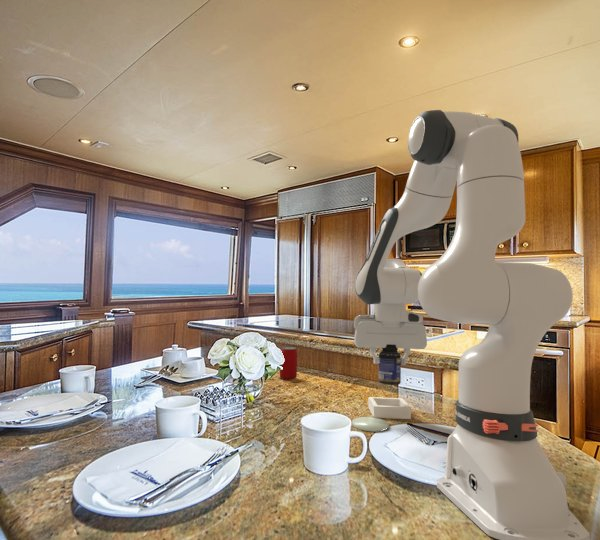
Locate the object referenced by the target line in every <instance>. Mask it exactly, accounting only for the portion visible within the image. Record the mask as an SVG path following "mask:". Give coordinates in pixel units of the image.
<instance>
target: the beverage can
mask: <svg viewBox="0 0 600 540" xmlns="http://www.w3.org/2000/svg"><path fill="white" fill-rule="evenodd" d="M281 351H282V353H283V355H284V358H285V362H284V364H283V365H282V367H283V370H280V369H279V378H281V379H282V378H283V379H282V380H284V379H293V380H295V379H296V378H297V377H298V376H297V375H298V374H297V373H298V351H297V348H296V347H293V346H283V347H282V349H281V350H280V352H281ZM294 378H295V379H294Z"/></svg>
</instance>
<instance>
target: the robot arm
mask: <svg viewBox="0 0 600 540" xmlns="http://www.w3.org/2000/svg"><path fill="white" fill-rule="evenodd" d="M518 132H519V131H518V129H517V127H516V126H515V125H514V124H513V123H511V122H509V121H507V120H505V119H502V118H498V117H495V118H493V117H489V116H484V115H480V114H474V113H471V112H468V111H452V110H451V111H443V110H441V109H436V110H435V109H434V110H432V109H431V110H426V111H425V110H424V111H423V112H421V113H419V115H418V116H416V118H415V119H414V120H413V122H412V124H411V127H410V128H409V132H408V136H407V150H408V153H409V155H410V157H411V158H412V159H413V163H412V166H411V169H410V171H409V174H408V178H407V181H406V184H405V188H404V191H403V194H402V196H401V197H400V199H399V200H398V202H397V203H395V205H394V206H393V207H391V208H388V210H387V211H386V212H385V214H384V215H383V217H382V220H381V221H380V224H379V226H378V228H377V231H376V233H375V236H374V239H373V240H372V242H371V246H370V248H369V251H368V253H367V256H366V258H365V260H364V262H363V264H362V267H361V268H360V269H359V271H358V273H357V275H356V278H355V284H354V286H355V287H354V289H355V290H354V291H355V294H356V295H357V297H358V298H359V299H360V300H361V301H362V302H363V303H364V304H365V305H374V314H358V315H357V316H355V318H354V319H353V328H354V336H353V337H354V338H353V340H354V341H353V344H354V345H355V346H356V347H357V348H369V352H370V354H371V356H372V358H373V364H374V365H379V364H380V362H379V361H380V358H379V356H377V355H376V353H375V352H377V349H379V348H380V349H382V348H385V347H386V345H387V344H390V345H396V348H398V349H403V352H404V353H403V356H402V357H401V366H406V365H407V359H408V357H409V356H410V354H411V350H425V349H426V348H427V345H428V339H427V332H426V331H427V330H426V326H424V324H422V322H423V321H424V316H423V315H421V314H419V313H415V312H413V311H409V310H408V309H407V305H411V304H416V303H417V304H418V303H419V304H420V307H421V308H422V309H423V311H424V312H425V313H426V315H427V317H429V318H433V319H436V320H438V321H439V320H440V321H444V322H449V323H454V324H468V325H469V324H470V325H472V324H473V325H474V324H475V325H488V330H487V333H486V335H485V336H484V338H483V339H482V340H481V341H480V342H479V343H477V344H476V345H474V346H471V347H469V348H468V349H467V350H465V351H464V352H463V353H462V355H461V356H460V359H458V382H457V383H458V384H457V385H458V391H457V392H458V399H457V400H456V401H455V408H454V414H455V423H456V427H455V428H454V430H453V431H452V433H451V434H449V436H448V437H447V444H446V455H445V469H444V474H445V475H444V476H442V477H439V478H437V480H436V481H437V482H436V488H437V489H438V490H439V491H440V492H441V493H443V494H444V495H445V496H446V497H447V498H448V499H449V500H450V501H451V502H452V504H454V505H455V506H456V507H457V508H458V509H460V511H462V512H463V514H465V515H466V516H467V517H468V518H469V519H470V520H471V521H472V522H473V523H474V524H475V525H476V526H477V527H478V528H479V529H481V530H482V531H483V532H484V533H485V534H486V535H487V536H489V537H491V538H494V539H496V540H591V535H590V532H589V531H588V530H587V529H586V528H585V526H584V524H582V523H581V522H580V520H579V519H578V518H577V517H576V516H575V515H574V513H572V511H571V510H570V509H569V506H568V505H569V504H568V496H567V491H566V489H567V485H568V483H567V478H566V475H565V474H564V472H562V471H556V470H555V468H554V466H553V465H552V463H551V462H550V461H551V460H550V458H549V456H548V454H546V453H545V452H544V450H543V448H542V446H541V444H540V443H539V441H538V432H539V430H538V429H537V427H539V424H538V423H537V422H536V419H535V418H534V414H533V410H531V399H530V397H531V396H530V395H531V374H532V364H533V361H534V356H535V354H536V351H537V348H538V346H540V345H539V344H540V343H541V341H542V340H543V337H544V336H545V335H546V333H547V332H548V331H549V330H550V329H551V328H552V327H553V326H554V325H555V324H556V323H558V322H560V321H561V320H563V318H565V317H566V315H567V314H568V313H569V311H570V309H571V306H572V303H573V299H574V298H573V295H574V293H573V287H572V285H571V283H570V281H569V279H568V278H567V276H566V275H565V274H564V273H563V272H562V271H561V270H558V269H556V268H552V267H550V266H545V265H542V264H541V265H540V264H536V263H528V262H527V263H526V262H525V263H523V262H501V261H500V262H499V261H497V262H496V252H497V249H498V247H499V245H500V244H502V243H505V242H506V241H509V240H511V239H512V238H514V237H516V236H517V235H518V234H519V233H520V232H521V231H522V229H523V227H524V226H525V224H526V199H525V197H526V195H525V194H526V193H525V176H524V175H525V174H524V163H523V160H522V154H521V148H520V145H519V133H518ZM455 189H456V216H455V217H456V218H455V219H456V220H455V228H454V233H453V236H452V238H451V241H450V243H449V245H448V247H447V248H446V250H445V251H444V253H443V254H442V255H440V257H439V258H438V259H437V260H436V261H434V262H433V263H432V264H430V265H429V266H428V267H427V268H426V269H425V270H424V271H423V272H421V271H420V270H418V269H415V268H412V267H409V266H407V265H406V264H405V262H404V260H403V259H401V258H396V257H389V256H390V254H391V252H392V249H393V248H394V245H395V243H396V242H397V241H398V240H400V239H401V238H403V237H404V236H406V235H409V234H411V233H413V232H417V231H421V230H424V229H428V228H430V227H433V226H434V225H435V226H436V224H438V223H439V222H441V221H442V220H443V219H444V218H445V216H446V215H447V213H448V211H449V209H450V206H451V203H452V200H453V196H454V192H455ZM536 423H537V424H536Z"/></svg>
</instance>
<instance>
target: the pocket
mask: <svg viewBox="0 0 600 540" xmlns="http://www.w3.org/2000/svg"><path fill="white" fill-rule="evenodd" d="M367 401H368V403H367V407H368V409H369V411H370V413H371V416H373V418H378V419H399V420H400V419H402V420H412V407H411V406H410V405H409V404H408V403H407V401H406V400H405V399H404V398H402V397H381V396H380V397H379V396H375V397H374V396H369V397H368V400H367Z"/></svg>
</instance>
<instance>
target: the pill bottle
mask: <svg viewBox="0 0 600 540" xmlns="http://www.w3.org/2000/svg"><path fill="white" fill-rule="evenodd" d="M398 350H399V348H396V345H390V344H387V345H386V347H385V348H381V351H380V352H379V353H378V357H379V358H380V361H379V362H380V364H378V382H379V383H380V384H381V385H382V384H383V385H388V386H399V385H400V384H402V383H401V378H402V377H401V376H402V375H401V372H402V367H401V366H402V365H401V358H402V356H401V354H400V352H398Z"/></svg>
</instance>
